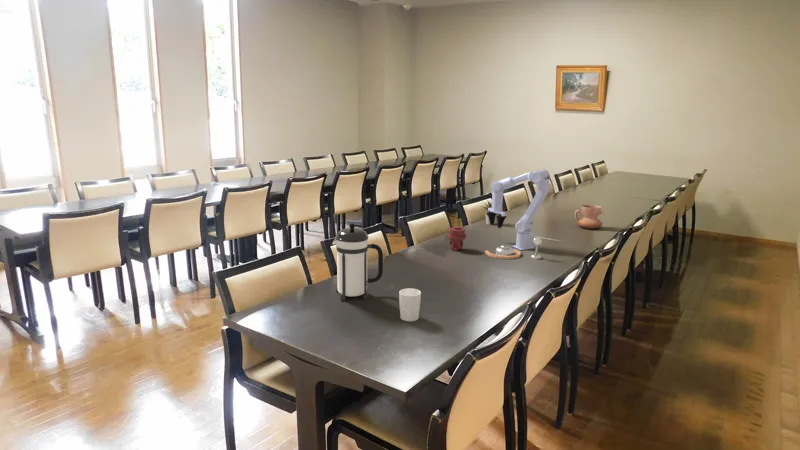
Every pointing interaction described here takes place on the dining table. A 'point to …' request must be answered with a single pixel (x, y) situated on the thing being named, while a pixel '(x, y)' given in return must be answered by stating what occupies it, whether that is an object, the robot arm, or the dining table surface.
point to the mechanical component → (456, 237)
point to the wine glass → (536, 242)
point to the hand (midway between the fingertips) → (495, 226)
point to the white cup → (409, 304)
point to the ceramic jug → (589, 216)
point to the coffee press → (354, 262)
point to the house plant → (487, 211)
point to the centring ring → (504, 256)
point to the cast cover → (504, 250)
